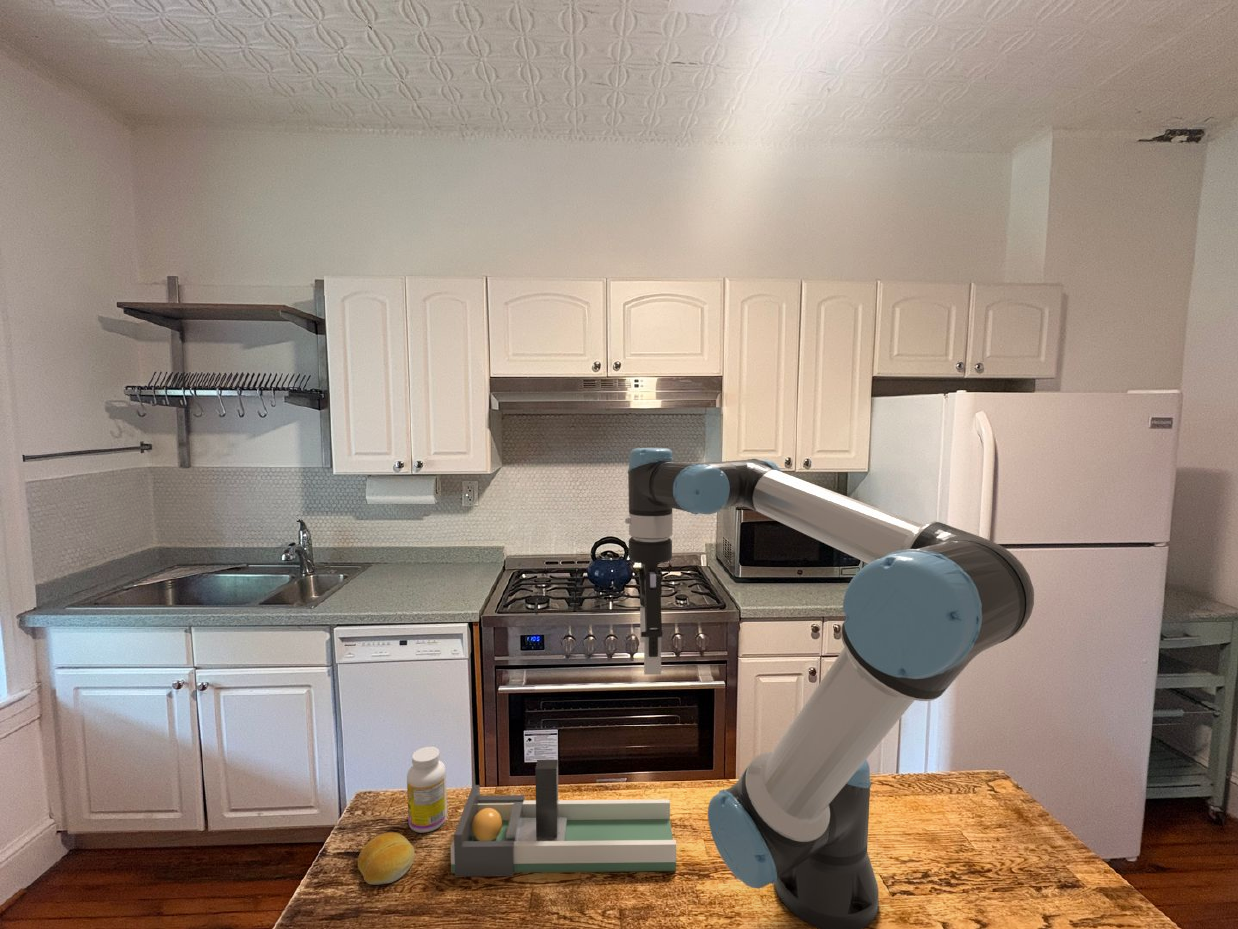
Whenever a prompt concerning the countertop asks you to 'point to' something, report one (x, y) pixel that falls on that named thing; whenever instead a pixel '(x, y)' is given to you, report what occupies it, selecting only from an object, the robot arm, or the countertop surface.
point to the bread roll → (385, 858)
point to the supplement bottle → (426, 791)
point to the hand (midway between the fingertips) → (649, 656)
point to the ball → (486, 824)
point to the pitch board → (596, 837)
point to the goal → (482, 842)
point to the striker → (540, 809)
